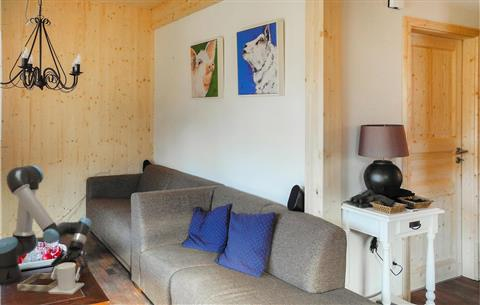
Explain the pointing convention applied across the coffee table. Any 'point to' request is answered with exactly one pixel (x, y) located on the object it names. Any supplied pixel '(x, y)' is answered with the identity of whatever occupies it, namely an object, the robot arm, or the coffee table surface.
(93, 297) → the coffee table surface
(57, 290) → the coaster
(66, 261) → the controller
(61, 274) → the candle holder
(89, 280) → the coffee table surface
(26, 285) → the birch frame
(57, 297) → the coffee table surface
